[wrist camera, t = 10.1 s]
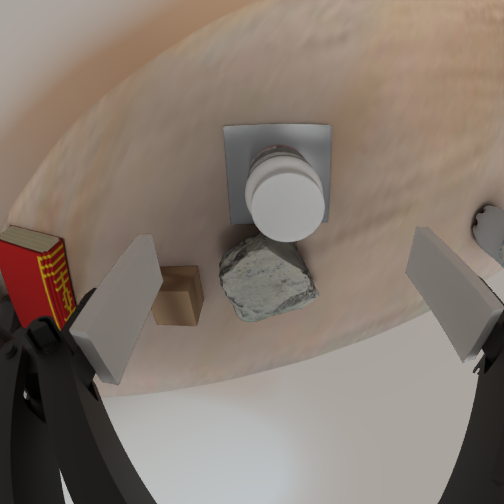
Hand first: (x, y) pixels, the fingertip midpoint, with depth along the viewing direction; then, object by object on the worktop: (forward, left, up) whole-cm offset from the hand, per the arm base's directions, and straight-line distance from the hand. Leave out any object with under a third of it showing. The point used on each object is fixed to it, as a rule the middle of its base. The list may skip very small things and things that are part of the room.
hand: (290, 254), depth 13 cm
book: (-36, -13, -16) cm, 42 cm away
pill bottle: (0, 0, -15) cm, 15 cm away
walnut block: (-12, -13, -16) cm, 23 cm away
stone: (+1, -12, -16) cm, 20 cm away
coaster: (0, 0, -16) cm, 16 cm away
